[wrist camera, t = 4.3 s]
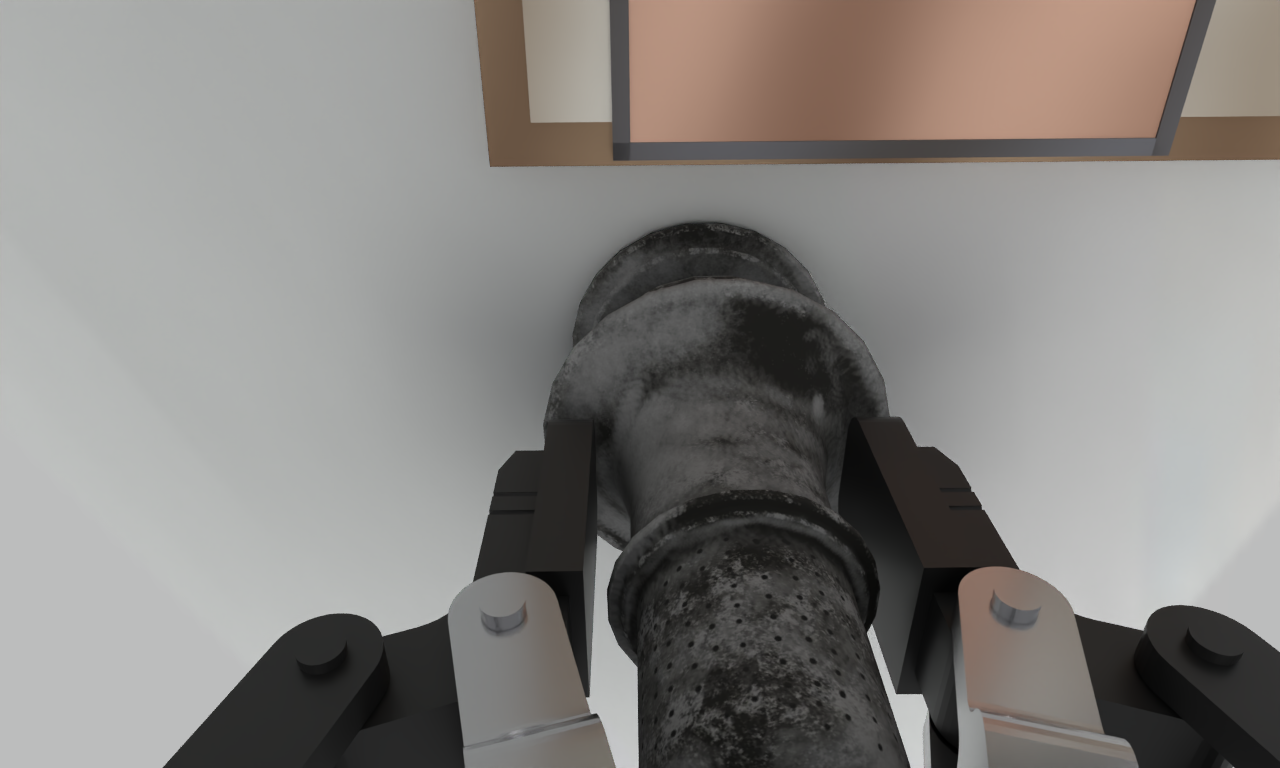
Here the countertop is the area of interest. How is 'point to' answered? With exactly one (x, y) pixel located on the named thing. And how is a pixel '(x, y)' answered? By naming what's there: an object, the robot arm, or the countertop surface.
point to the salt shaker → (731, 502)
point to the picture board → (878, 81)
